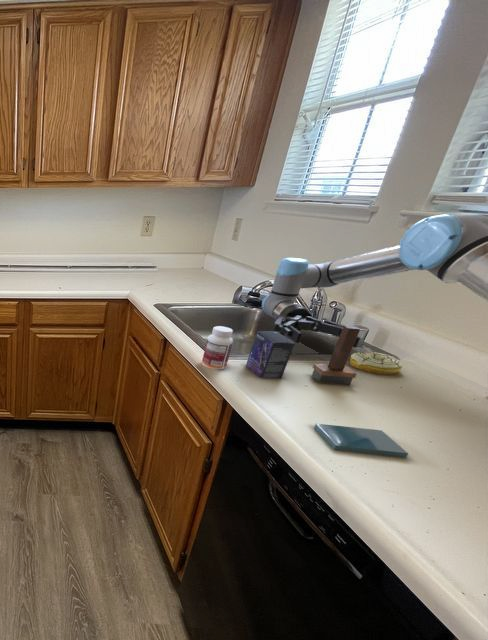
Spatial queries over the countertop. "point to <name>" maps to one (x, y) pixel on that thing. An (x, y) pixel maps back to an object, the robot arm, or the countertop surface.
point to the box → (269, 354)
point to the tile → (360, 440)
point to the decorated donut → (375, 362)
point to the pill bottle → (218, 348)
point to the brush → (338, 360)
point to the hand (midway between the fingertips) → (327, 340)
